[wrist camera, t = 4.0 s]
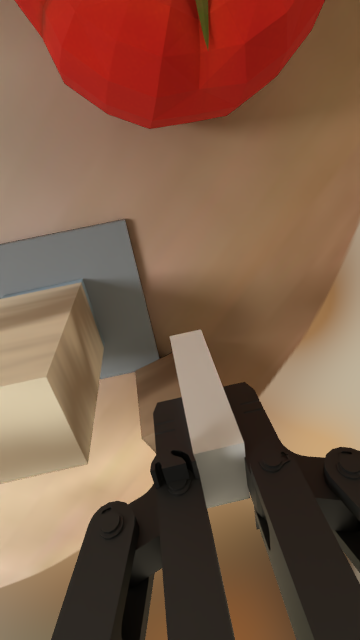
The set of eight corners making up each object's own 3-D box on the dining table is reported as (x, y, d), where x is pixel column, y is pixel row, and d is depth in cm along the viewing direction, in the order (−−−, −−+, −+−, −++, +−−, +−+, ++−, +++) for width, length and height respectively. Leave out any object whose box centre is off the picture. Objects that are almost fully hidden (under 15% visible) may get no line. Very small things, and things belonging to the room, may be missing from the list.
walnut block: (135, 370, 24) (141, 438, 19) (188, 344, 24) (208, 407, 19) (162, 403, 27) (173, 471, 22) (210, 381, 26) (233, 444, 22)
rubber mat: (-194, 283, 19) (-200, 285, 19) (124, 218, 20) (124, 220, 19) (-87, 416, 24) (-91, 420, 24) (160, 362, 25) (161, 366, 25)
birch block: (4, 294, 20) (-91, 406, 12) (82, 278, 21) (46, 376, 12) (34, 358, 23) (-26, 489, 14) (104, 343, 23) (87, 464, 14)
